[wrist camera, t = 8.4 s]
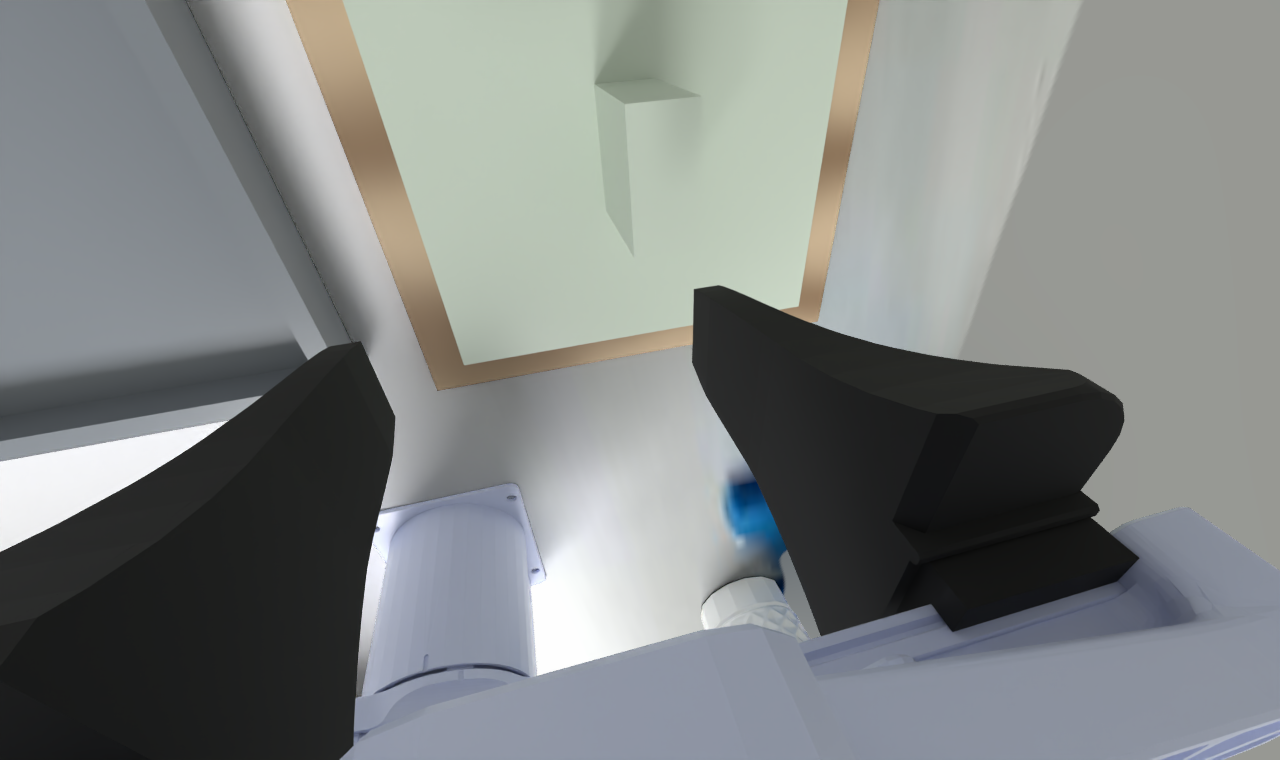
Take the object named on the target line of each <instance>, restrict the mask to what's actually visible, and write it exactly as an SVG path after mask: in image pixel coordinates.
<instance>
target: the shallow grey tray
mask: <svg viewBox="0 0 1280 760" xmlns="http://www.w3.org/2000/svg"><path fill="white" fill-rule="evenodd" d="M347 343H352V342H351V340H350V338H349V335H348V333H347V331H346V329H345V327H344V325H343V323H342V321H341V319H340V317H339V315H338V313H337V311H336V309H335V307H334V305H333V303H332V301H331V298H330V296H329V294H328V292H327V290H326V288H325V286H324V284H323V282H322V280H321V278H320V276H319V274H318V272H317V270H316V268H315V266H314V264H313V262H312V259H311V257H310V255H309V253H308V251H307V249H306V247H305V245H304V243H303V241H302V239H301V237H300V235H299V233H298V231H297V229H296V227H295V225H294V222H293V220H292V218H291V216H290V214H289V212H288V210H287V208H286V206H285V204H284V202H283V200H282V198H281V196H280V194H279V192H278V190H277V188H276V185H275V183H274V181H273V179H272V177H271V175H270V173H269V171H268V169H267V167H266V165H265V163H264V161H263V159H262V157H261V155H260V153H259V151H258V149H257V146H256V144H255V142H254V140H253V138H252V136H251V134H250V132H249V130H248V128H247V126H246V124H245V122H244V120H243V118H242V116H241V114H240V112H239V109H238V107H237V105H236V103H235V101H234V99H233V97H232V95H231V93H230V91H229V89H228V87H227V85H226V83H225V81H224V79H223V77H222V75H221V73H220V70H219V68H218V66H217V64H216V62H215V60H214V58H213V56H212V54H211V52H210V50H209V48H208V46H207V44H206V42H205V40H204V38H203V36H202V33H201V31H200V29H199V27H198V25H197V23H196V21H195V19H194V17H193V15H192V13H191V11H190V9H189V7H188V5H187V3H186V1H185V0H0V461H6V460H11V459H17V458H22V457H28V456H34V455H39V454H45V453H50V452H56V451H61V450H67V449H72V448H78V447H83V446H89V445H95V444H100V443H106V442H111V441H117V440H122V439H128V438H133V437H139V436H144V435H150V434H155V433H161V432H167V431H172V430H178V429H183V428H189V427H194V426H200V425H205V424H211V423H216V422H222V421H228V420H231V419H232V418H233V417H235V416H236V415H237V414H239V413H240V412H242V411H243V410H244V409H246V408H247V407H249V406H250V405H251V404H253V403H254V402H255V401H256V400H258V399H259V398H260V397H262V396H263V395H264V394H265V393H267V392H268V391H269V390H271V389H272V388H273V387H274V386H276V385H277V384H278V383H279V382H281V381H282V380H283V379H285V378H286V377H287V376H288V375H290V374H291V373H292V372H294V371H295V370H296V369H297V368H299V367H300V366H301V365H303V364H304V363H305V362H306V361H308V360H309V359H310V358H312V357H313V356H315V355H316V354H318V353H319V352H321V351H322V350H324V349H325V348H327V347H329V346H335V345H341V344H347Z"/></svg>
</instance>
